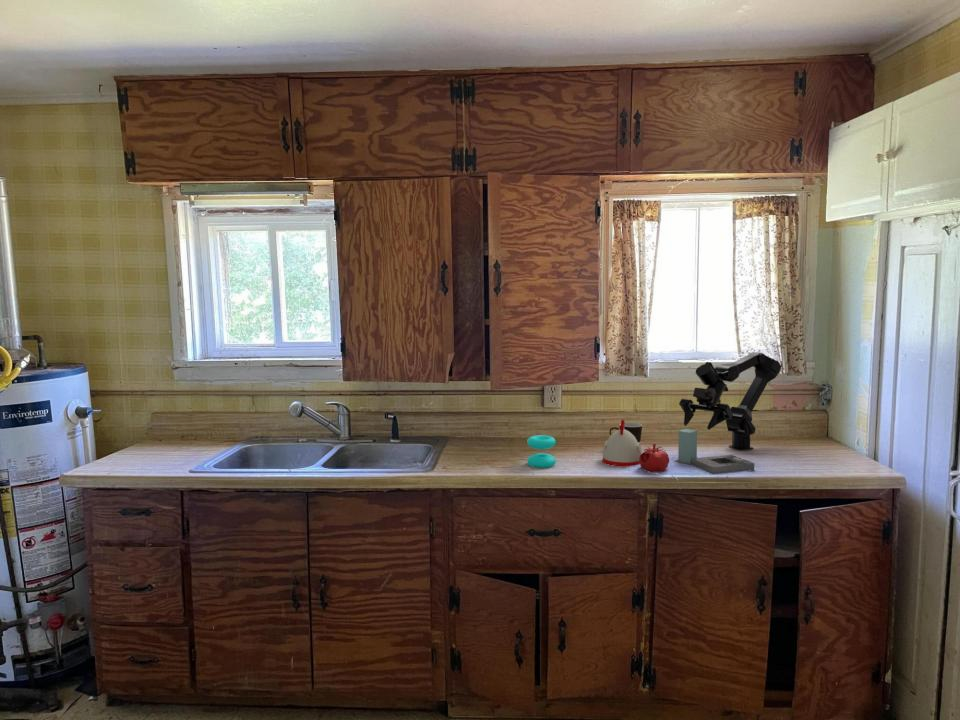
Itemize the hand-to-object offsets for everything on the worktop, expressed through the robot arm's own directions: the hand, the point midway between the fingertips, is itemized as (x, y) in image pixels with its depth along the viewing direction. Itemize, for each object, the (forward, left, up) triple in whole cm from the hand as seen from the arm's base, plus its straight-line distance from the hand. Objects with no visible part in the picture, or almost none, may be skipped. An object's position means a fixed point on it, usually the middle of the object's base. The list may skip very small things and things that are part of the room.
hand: (696, 427), depth 223 cm
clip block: (+2, -5, -11) cm, 13 cm away
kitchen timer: (-6, -26, -12) cm, 29 cm away
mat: (+2, -5, -12) cm, 13 cm away
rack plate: (+12, +2, -12) cm, 17 cm away
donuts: (-11, -55, -12) cm, 57 cm away
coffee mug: (-21, -16, -12) cm, 29 cm away
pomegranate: (+7, -21, -12) cm, 25 cm away
